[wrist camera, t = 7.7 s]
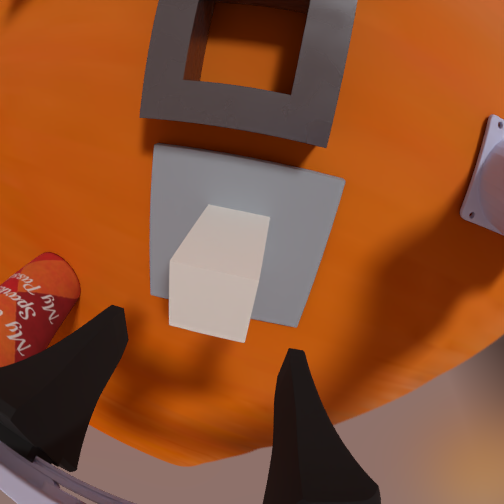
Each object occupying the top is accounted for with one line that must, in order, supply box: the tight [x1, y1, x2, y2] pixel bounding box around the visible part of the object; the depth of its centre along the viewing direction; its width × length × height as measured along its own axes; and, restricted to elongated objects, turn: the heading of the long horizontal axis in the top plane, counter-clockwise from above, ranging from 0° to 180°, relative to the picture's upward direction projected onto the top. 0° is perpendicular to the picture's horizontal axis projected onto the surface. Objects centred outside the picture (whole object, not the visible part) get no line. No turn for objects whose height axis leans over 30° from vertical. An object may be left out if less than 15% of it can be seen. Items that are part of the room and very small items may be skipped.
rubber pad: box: [150, 143, 345, 327], centre depth 21 cm, size 12×12×1 cm
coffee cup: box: [0, 252, 81, 367], centre depth 19 cm, size 8×8×15 cm
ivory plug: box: [169, 204, 270, 343], centre depth 17 cm, size 4×4×7 cm
